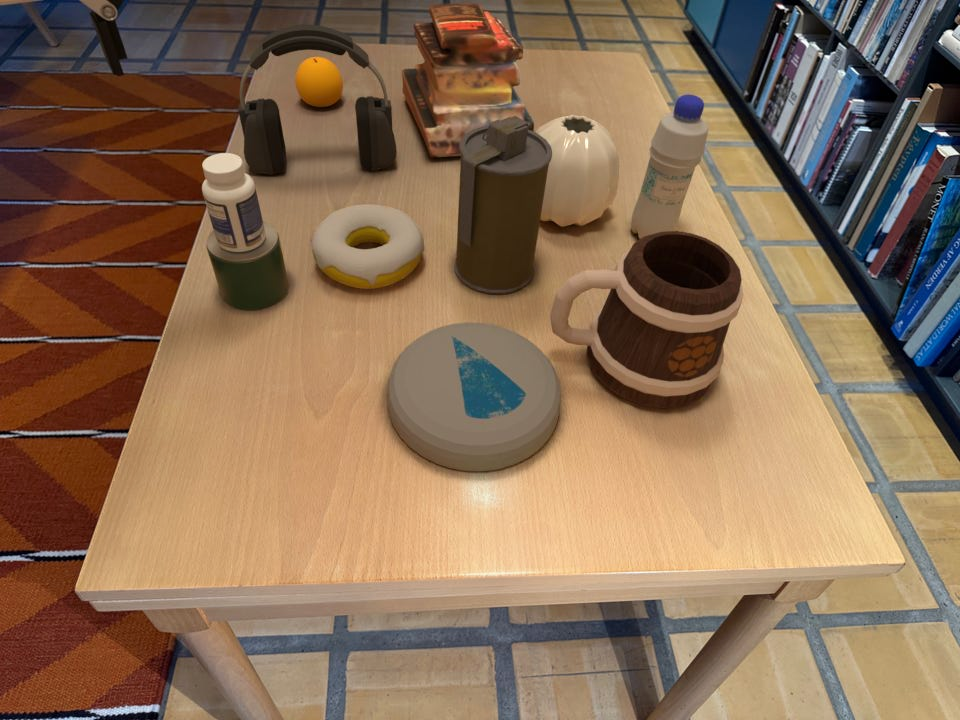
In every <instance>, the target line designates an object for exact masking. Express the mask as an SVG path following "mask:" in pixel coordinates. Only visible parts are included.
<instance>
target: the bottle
mask: <svg viewBox="0 0 960 720" xmlns="http://www.w3.org/2000/svg"><path fill="white" fill-rule="evenodd" d="M704 109H705V103H704V100H703V99H702V98H701V97H700V96H698V95H695V94H689V93H688V94H683V95H681V96H679V97H678V98H677V99H676V102H675V105H674V107H673V111H672V112H668V113H666V114H664V115H663V116H662V117H661V118H660V121H659V123H658V125H657V127H656V130H655V132H654V135H653V136H652V138H651V141H650V143H651V144H650V148H649V156H650V157H649V160H648V163H647V167H646V171H645V174H644V178H643V181H642V184H641V189H640V192H639V194H638V197H637V200H636V203H635V205H634V207H633V211H632V215H631V220H630V221H631V222H630V227H631V231H632V233H633V234H636V235H637V236H638V240H640V239H641V238H643V237H644V236H648V235H651V234H655V233H659V232H666V231H676V228H677V226H678V224H679V220H680V216H681V213H682V208H683V205H684V201H685V198H686V195H687V193H688V190H689V187H690V184H691V182H692V179H693V175H694V172H695V170H696V167H697V166H699V165H700V163H701V160H702V157H703V155H704V153H705V150H706V149H705V148H706V144H707V143H706V142H707V137H708V133H709V124H708V123H707V122H706V120H704V119H703V118H702V115H703V112H704Z"/></svg>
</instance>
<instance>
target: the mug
mask: <svg viewBox="0 0 960 720" xmlns="http://www.w3.org/2000/svg"><path fill="white" fill-rule="evenodd" d="M591 289H602V290H609V293H608V295H607V297H606V298H605V299H606V300H605V302H604V304H603V306H602V307H599V310H598V311H597V312H596V314H595V316H594V318H593V320H591V323H590V325H589V329H581V328H577V327H572V326H571V325H570V324H569V316H570V314H571V310H572V306H573V303H574V301H575V300H576V299H577V298H578V297H579V296H580V295H581V294H582V293H585V292H587V291H589V290H591ZM743 299H744V290H743V285H742V274H741V269H740V267H739V265H738V264H737V262H736V260H735V259H734V257H733V256H732V255H731V254H730V253H728V251H726V250H725V249H724V248H723V247H722V246H720V245H719V244H718V243H716V242H714V241H712V240H710V239H708V238H707V237H704V236H701V235H697V234H695V233H691V232H684V231H679V230H675V231H666V232H659V233H655V234H651V235H648V236H644V237H643V238H641V239H638V240H637V241H635V242H633V244H632V246H631V248H629V249H628V250H626V251H625V252H624V253H623V254H622V256H621V257H620V259H619V260H618V262H617V264H616V266H615V268H614V269H584V270H583V271H581V272H578V273H576V274H575V275H572V276H570V277H569V278H568V279H567V280H566V281H565V282H564V283H563V284H562V285H561V286H559V288H558V289H557V290H556V293H555V296H554V299H553V303H552V306H551V310H550V313H549V320H550V324H551V325H550V326H551V331H552V333H553V334H554V335H556V336H557V337H559V338H560V339H561V340H563V341H564V342H565V343H567V344H571V345H578V346H586V358H587V359H588V362H589V365H590V368H591V370H592V371H593V373H594V374H595V376H596V377H597V378H598V379H599V381H600V382H601V383H602V385H604V386H605V387H607V388H608V389H609V390H611V391H612V392H613V393H615V394H616V395H618V396H619V397H621V398H623V399H626V400H628V401H631V402H632V403H636V404H638V405H642V406H648V407H653V408H658V409H664V408H680V407H683V406H686V405H688V404H691V403H693V402H696V401H698V400H700V398H702V397H703V396H704V395H705V394H706V393H707V392H708V391H709V390H710V388H711V385H712V383H713V381H715V380H716V379H717V378H718V377H719V374H720V372H721V368H722V366H723V363H724V358H725V352H724V344H725V341H726V337H727V334H728V330H729V327H730V324H731V322H732V321H733V320H734V319H735V318H736V317H737V316H738V315H739V311H740V309H741V306H742V304H743V303H742V302H743Z"/></svg>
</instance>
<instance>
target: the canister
mask: <svg viewBox="0 0 960 720" xmlns="http://www.w3.org/2000/svg"><path fill="white" fill-rule="evenodd" d="M530 127H531V124H530V123H528V122H526V121H524V120H522V119H520V118H519V117H517V116H513V117H508V118H505V119H503V120H496V121H493V122H491V123H490V124H489V125H487V126H483V127H480V128H476V129H474V130H471V131H470V132H468V133H467V134H465V136H464V137H463V138H462V139H461V142H460V144H459V149H460V153H461V156H460V165H459V166H460V167H459V187H458V189H459V191H458V211H457V233H456V235H457V237H456V252H455V253H456V256H455V259H454V262H453V267H454V268H453V269H454V272H455V275H456V277H457V278H458V279H459V280H460V282H462V284H464V285H465V286H466V287H469V288H470V289H472V290H475V291H477V292H480V293H484V294H488V295H503V294H504V295H505V294H507V295H508V294H511V293H515V292H518V291H519V290H521V289H523V288H524V287H526V286H527V285H529V283H530V282H531V280H532V279H533V276H534V272H535V271H534V270H535V268H534V262H535V257H536V256H535V255H536V248H537V242H538V236H539V231H540V223H541V220H540V218H541V211H542V205H543V199H544V192H545V186H546V179H547V173H548V167H549V162H550V161H551V158H552V149H551V146H550V144H549V143H548V142H547V140H546V139H544V138H543V137H542V136H540V135H539V134H537V133H536V131H534V132H533V131H531V130H528V128H530Z"/></svg>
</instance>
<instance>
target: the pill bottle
mask: <svg viewBox="0 0 960 720" xmlns="http://www.w3.org/2000/svg"><path fill="white" fill-rule="evenodd" d="M243 162H244V161H243V159H242V158H241V157H240V156H239V155H237V154H235V153H229V152H221V153H220V152H219V153H216V154H212V155H210V156H207V157H206V158H205V159H204V160H203V162H202V164H201V165H202V170H203V175H204V178H205V179H204V180H203V182H202V184H201V191H202V196H203V200H204V202H205V206H206V210H207V213H208V216H209V220H210V223H211V227H212V231H213V230H214V233H215V236H216V239H217V242H218V244H219V245H220V246H221V247H222V248H223V249H225V250H228V251H232V252H245V251H249V250H252V249H254V248H256V247H258V246H260V245H261V244H262V243H263V241H264V239H265V235H266V234H265V228H264V224H263V221H264V219H263V215H262V210H261V206H260V203H259V197H258V193H257V188H256V185H255V181H254V179H253V178H252V177H251V175H249V174H248V173H246V171H245V169H246V168H245V166H244V163H243Z"/></svg>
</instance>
